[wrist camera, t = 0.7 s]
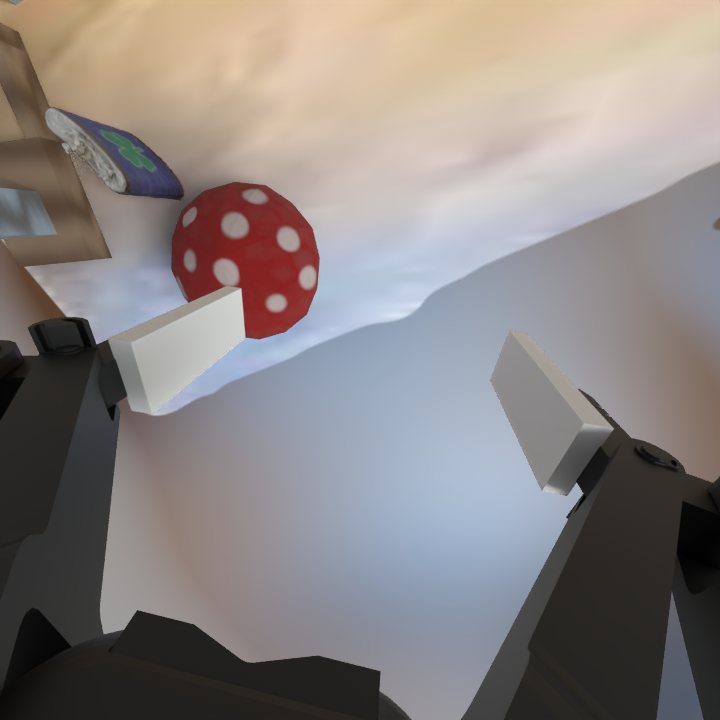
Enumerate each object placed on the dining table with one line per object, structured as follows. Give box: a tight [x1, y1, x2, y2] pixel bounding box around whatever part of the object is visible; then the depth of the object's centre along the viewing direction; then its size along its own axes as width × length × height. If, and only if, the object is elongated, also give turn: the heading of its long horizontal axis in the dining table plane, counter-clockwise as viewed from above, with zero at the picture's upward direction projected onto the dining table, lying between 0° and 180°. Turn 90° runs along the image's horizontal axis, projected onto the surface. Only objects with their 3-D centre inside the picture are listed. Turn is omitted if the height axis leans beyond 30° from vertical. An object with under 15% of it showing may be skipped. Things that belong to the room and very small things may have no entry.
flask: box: [45, 107, 184, 201], centre depth 32 cm, size 9×3×11 cm, turn 42°
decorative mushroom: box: [172, 182, 320, 339], centre depth 33 cm, size 16×16×15 cm
